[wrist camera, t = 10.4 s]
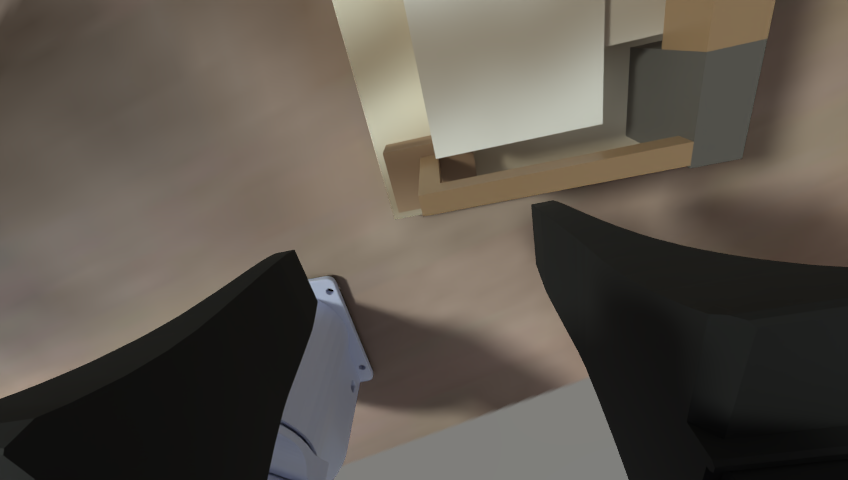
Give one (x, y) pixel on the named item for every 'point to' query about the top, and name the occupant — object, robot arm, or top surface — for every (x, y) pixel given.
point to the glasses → (650, 109)
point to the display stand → (491, 81)
